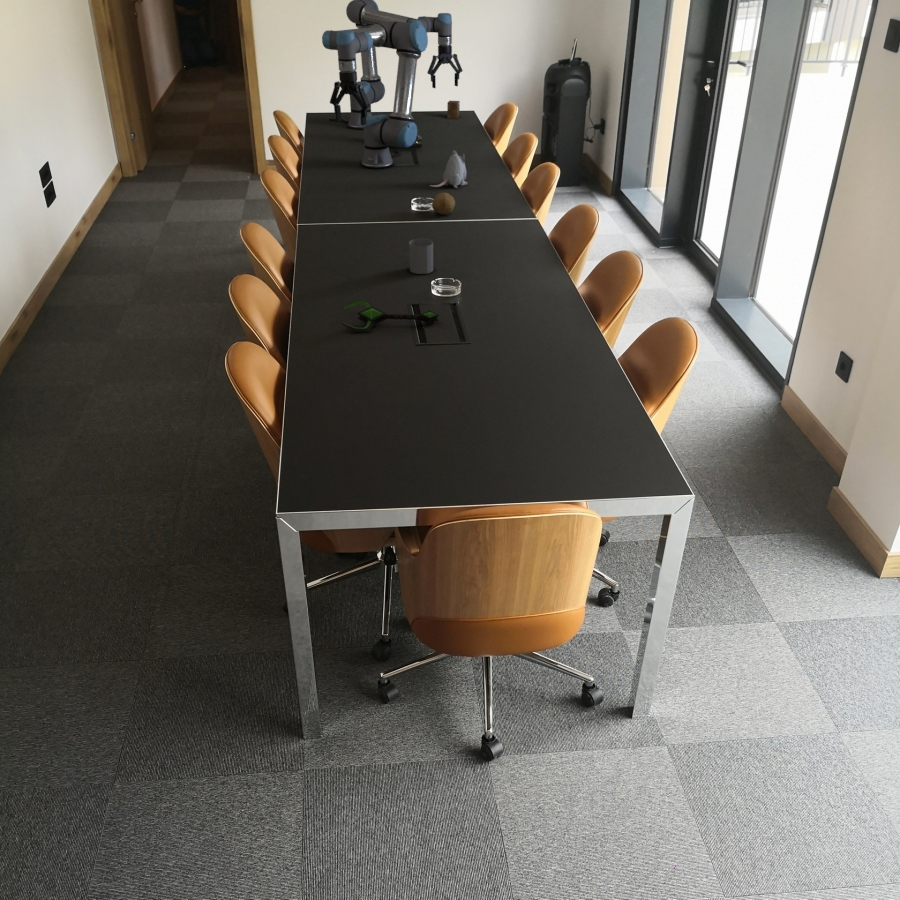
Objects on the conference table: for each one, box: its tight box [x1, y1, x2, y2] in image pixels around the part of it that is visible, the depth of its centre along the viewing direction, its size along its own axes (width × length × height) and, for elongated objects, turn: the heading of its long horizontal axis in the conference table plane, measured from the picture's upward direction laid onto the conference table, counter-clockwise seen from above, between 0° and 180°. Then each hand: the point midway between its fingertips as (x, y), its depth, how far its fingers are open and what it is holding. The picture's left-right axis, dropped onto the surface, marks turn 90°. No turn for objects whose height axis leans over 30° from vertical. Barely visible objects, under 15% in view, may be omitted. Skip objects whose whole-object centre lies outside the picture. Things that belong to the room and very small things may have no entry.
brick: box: [446, 100, 461, 120], centre depth 518 cm, size 6×7×9 cm
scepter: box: [341, 300, 440, 333], centre depth 268 cm, size 6×13×30 cm
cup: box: [408, 237, 434, 275], centre depth 305 cm, size 8×8×10 cm
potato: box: [431, 192, 456, 216], centre depth 360 cm, size 10×14×8 cm
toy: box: [428, 149, 468, 189], centre depth 390 cm, size 9×24×15 cm, turn 137°
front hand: (351, 123), depth 380 cm, fingers open, 13 cm apart
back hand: (445, 87), depth 481 cm, fingers open, 13 cm apart
